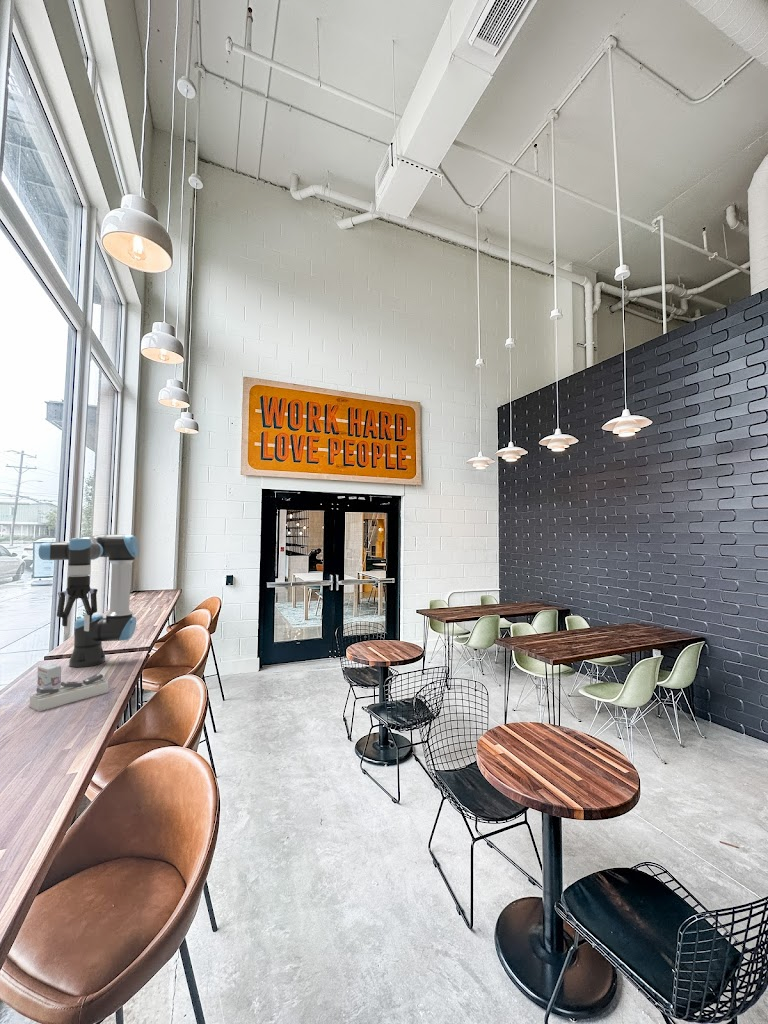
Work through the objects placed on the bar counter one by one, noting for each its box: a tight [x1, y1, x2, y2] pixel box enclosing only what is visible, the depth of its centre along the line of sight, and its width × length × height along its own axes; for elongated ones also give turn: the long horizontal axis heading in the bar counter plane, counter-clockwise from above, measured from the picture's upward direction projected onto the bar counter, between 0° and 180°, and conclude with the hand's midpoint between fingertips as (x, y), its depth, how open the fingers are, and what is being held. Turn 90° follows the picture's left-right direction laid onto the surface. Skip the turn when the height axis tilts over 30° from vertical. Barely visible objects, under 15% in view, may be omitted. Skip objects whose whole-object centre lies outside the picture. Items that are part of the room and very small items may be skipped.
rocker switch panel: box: [29, 678, 109, 712], centre depth 176 cm, size 24×8×5 cm, turn 147°
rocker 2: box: [61, 681, 82, 687], centre depth 176 cm, size 6×4×1 cm, turn 147°
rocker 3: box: [82, 672, 104, 685], centre depth 183 cm, size 6×4×1 cm, turn 147°
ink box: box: [36, 662, 62, 694], centre depth 180 cm, size 9×5×12 cm, turn 62°
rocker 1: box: [35, 687, 59, 693], centre depth 169 cm, size 6×4×1 cm, turn 147°
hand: (76, 632), depth 182 cm, fingers open, 6 cm apart
